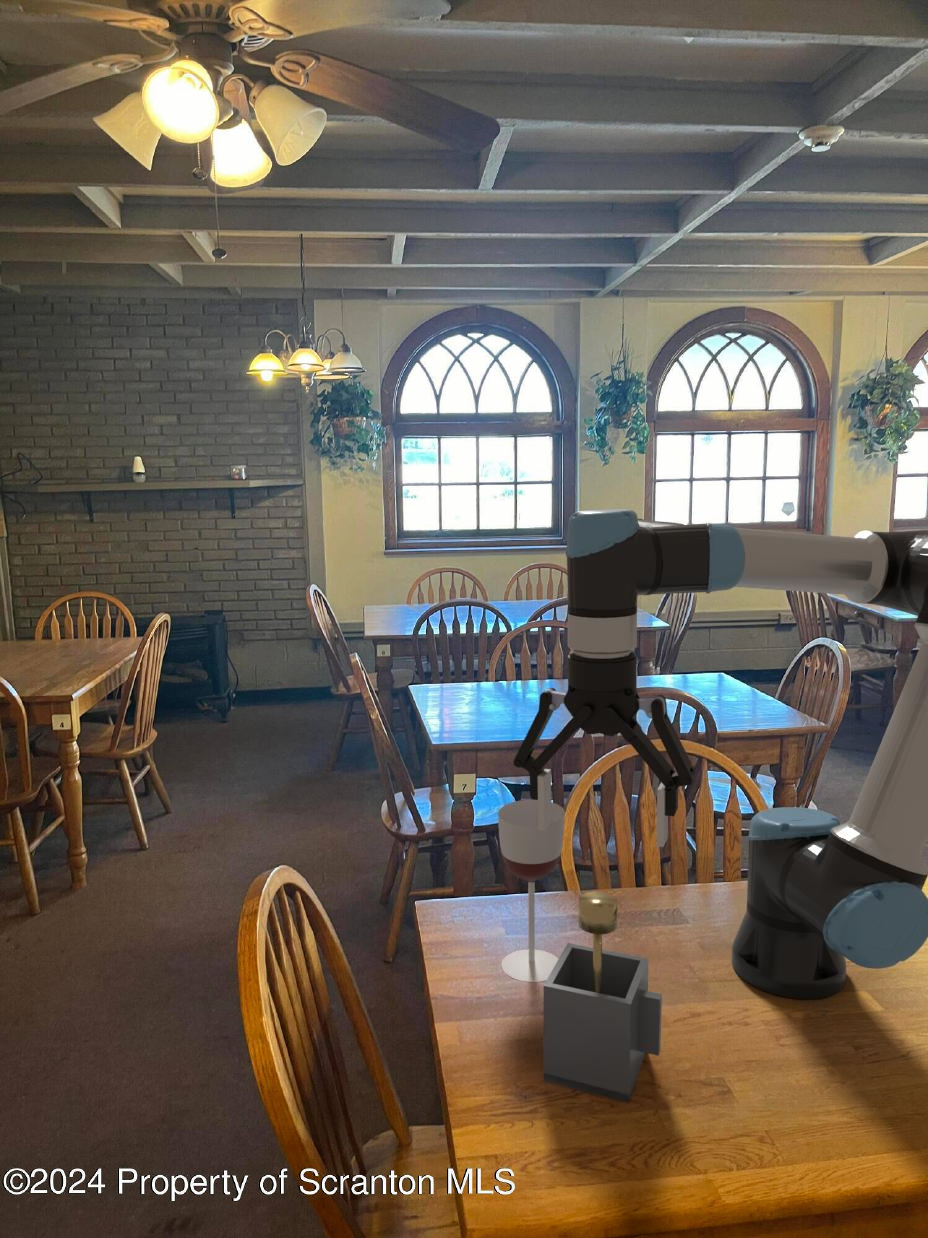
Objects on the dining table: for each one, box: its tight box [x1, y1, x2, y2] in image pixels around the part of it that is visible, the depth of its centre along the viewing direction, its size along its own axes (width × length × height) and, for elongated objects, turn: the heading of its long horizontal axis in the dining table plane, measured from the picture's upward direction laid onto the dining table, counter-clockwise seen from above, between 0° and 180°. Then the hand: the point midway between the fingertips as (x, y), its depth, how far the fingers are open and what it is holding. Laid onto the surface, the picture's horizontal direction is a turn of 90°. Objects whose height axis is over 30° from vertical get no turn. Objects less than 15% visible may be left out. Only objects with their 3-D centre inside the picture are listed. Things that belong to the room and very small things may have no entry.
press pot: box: [542, 942, 663, 1104], centre depth 104 cm, size 12×10×12 cm
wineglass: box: [497, 799, 566, 983], centre depth 125 cm, size 9×10×23 cm
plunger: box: [578, 891, 618, 994], centre depth 104 cm, size 7×7×19 cm
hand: (602, 834), depth 101 cm, fingers open, 13 cm apart
